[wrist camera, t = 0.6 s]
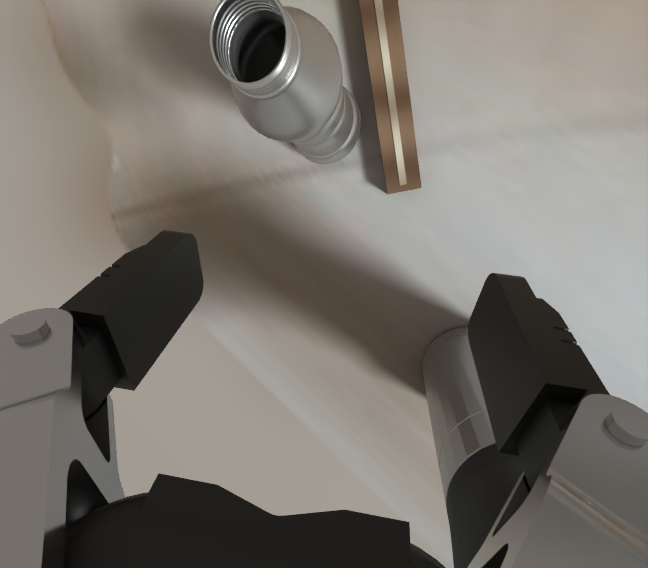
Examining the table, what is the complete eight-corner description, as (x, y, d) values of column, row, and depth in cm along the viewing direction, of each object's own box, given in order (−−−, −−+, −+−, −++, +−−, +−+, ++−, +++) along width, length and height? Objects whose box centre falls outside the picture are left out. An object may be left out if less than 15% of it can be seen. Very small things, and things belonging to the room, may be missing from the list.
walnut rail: (419, 188, 33) (421, 187, 31) (387, 194, 34) (387, 193, 31) (373, -171, 28) (371, -208, 25) (336, -155, 28) (331, -189, 26)
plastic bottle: (292, 161, 35) (172, 115, 16) (303, 86, 33) (181, -68, 14) (356, 171, 34) (310, 136, 15) (370, 95, 32) (338, -56, 13)
